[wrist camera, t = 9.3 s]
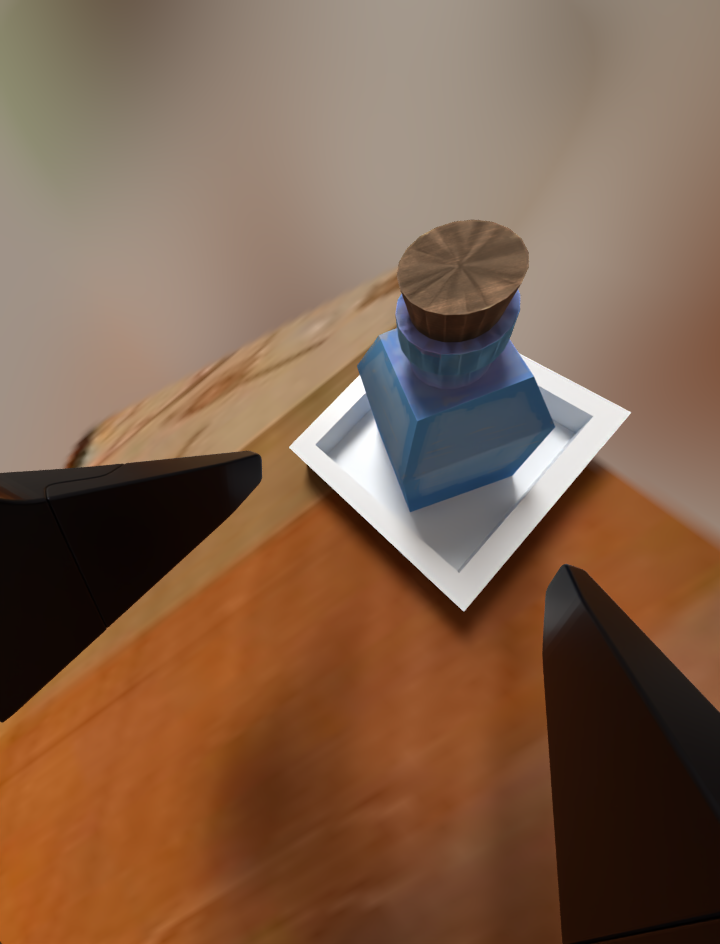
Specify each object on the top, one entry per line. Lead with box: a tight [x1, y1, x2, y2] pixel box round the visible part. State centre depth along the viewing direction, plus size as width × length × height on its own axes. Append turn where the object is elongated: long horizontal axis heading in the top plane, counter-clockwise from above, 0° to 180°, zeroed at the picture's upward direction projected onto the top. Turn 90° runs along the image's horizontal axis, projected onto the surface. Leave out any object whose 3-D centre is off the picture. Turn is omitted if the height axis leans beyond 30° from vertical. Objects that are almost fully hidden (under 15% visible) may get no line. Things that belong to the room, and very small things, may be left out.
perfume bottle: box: [357, 220, 555, 512], centre depth 13 cm, size 6×6×12 cm
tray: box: [289, 354, 631, 612], centre depth 18 cm, size 13×13×3 cm
